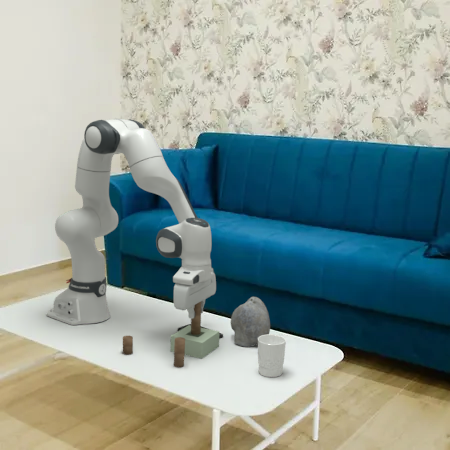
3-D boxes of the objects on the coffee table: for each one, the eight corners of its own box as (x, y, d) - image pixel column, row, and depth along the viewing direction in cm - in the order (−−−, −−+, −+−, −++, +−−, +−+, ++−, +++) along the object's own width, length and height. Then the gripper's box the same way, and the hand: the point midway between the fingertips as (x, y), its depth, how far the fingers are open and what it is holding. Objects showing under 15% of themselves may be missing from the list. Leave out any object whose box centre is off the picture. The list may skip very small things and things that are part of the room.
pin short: (120, 353, 189) (120, 337, 188) (126, 350, 192) (126, 334, 191) (128, 355, 188) (128, 339, 187) (134, 352, 190) (134, 336, 189)
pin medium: (171, 366, 181) (172, 339, 179) (176, 362, 184) (177, 336, 182) (181, 368, 180) (182, 342, 178) (185, 364, 182) (187, 338, 181)
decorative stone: (220, 341, 201) (221, 296, 198) (238, 331, 209) (240, 288, 206) (260, 352, 192) (262, 305, 190) (277, 342, 201) (279, 297, 198)
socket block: (170, 351, 191) (170, 335, 191) (188, 339, 201) (188, 325, 200) (201, 358, 187) (202, 342, 186) (219, 346, 196) (219, 331, 195)
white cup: (289, 372, 179) (291, 339, 177) (273, 381, 173) (274, 346, 171) (268, 364, 184) (269, 332, 182) (250, 372, 178) (252, 339, 176)
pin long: (189, 333, 192) (189, 296, 190) (193, 330, 195) (194, 293, 193) (197, 335, 191) (198, 297, 188) (202, 332, 193) (203, 295, 191)
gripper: (203, 263, 200) (203, 304, 202) (169, 278, 182) (169, 323, 184) (221, 265, 197) (220, 307, 199) (188, 281, 179) (187, 327, 182)
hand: (195, 315), depth 192 cm, fingers closed on pin long, 3 cm apart
